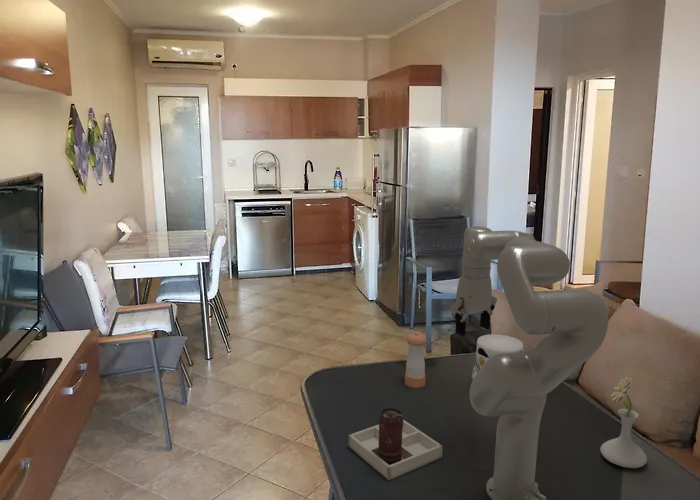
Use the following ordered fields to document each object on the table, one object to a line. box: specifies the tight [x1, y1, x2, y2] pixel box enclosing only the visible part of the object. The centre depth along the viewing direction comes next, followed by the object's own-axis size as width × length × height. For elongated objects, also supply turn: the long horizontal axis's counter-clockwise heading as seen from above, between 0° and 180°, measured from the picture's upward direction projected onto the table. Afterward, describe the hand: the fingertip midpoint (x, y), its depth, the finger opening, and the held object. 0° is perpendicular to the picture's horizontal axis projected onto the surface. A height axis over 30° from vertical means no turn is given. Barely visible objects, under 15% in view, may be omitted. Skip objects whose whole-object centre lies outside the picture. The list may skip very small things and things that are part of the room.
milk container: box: [471, 333, 525, 381], centre depth 184 cm, size 17×17×18 cm
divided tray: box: [347, 419, 443, 481], centre depth 148 cm, size 18×18×4 cm
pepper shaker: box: [404, 331, 428, 389], centre depth 189 cm, size 7×7×19 cm
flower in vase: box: [599, 376, 648, 469], centre depth 143 cm, size 13×11×25 cm
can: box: [378, 408, 404, 465], centre depth 141 cm, size 6×6×14 cm
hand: (472, 331), depth 151 cm, fingers open, 9 cm apart
